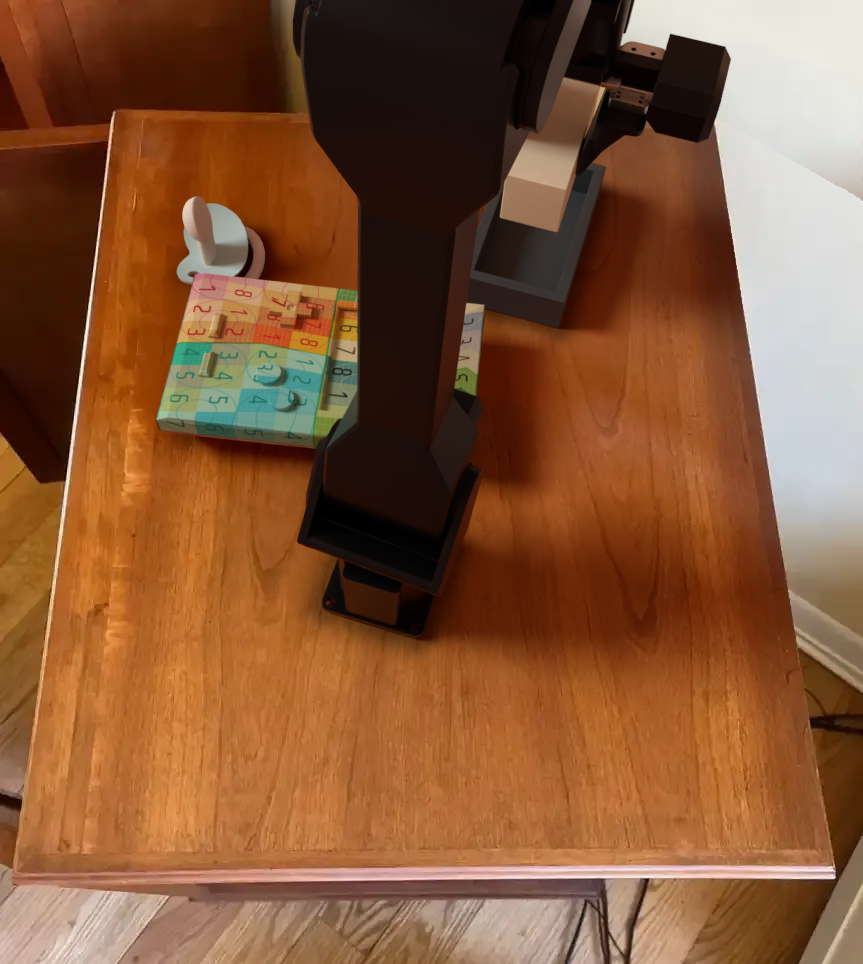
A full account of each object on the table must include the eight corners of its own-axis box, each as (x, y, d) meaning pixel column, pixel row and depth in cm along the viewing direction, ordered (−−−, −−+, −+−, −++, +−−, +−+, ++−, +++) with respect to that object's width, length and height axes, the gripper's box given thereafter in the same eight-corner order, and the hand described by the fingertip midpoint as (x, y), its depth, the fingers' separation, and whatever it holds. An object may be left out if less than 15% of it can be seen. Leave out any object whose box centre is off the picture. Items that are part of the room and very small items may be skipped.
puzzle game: (192, 265, 69) (486, 296, 68) (203, 308, 73) (480, 337, 72) (152, 412, 63) (472, 446, 63) (166, 449, 67) (467, 481, 67)
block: (567, 189, 64) (600, 83, 68) (505, 174, 64) (543, 70, 69) (557, 233, 67) (590, 129, 72) (499, 218, 68) (535, 116, 72)
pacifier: (270, 229, 77) (189, 223, 76) (264, 167, 71) (177, 162, 71) (260, 307, 73) (176, 302, 73) (253, 249, 68) (162, 243, 67)
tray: (558, 328, 73) (565, 302, 70) (457, 301, 74) (460, 275, 71) (599, 194, 79) (606, 165, 77) (505, 170, 80) (509, 141, 77)
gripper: (780, -101, 58) (703, 115, 71) (465, -170, 60) (450, 53, 73) (751, 24, 53) (675, 230, 66) (408, -56, 54) (403, 161, 68)
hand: (548, 162), depth 69 cm, fingers closed on block, 4 cm apart
